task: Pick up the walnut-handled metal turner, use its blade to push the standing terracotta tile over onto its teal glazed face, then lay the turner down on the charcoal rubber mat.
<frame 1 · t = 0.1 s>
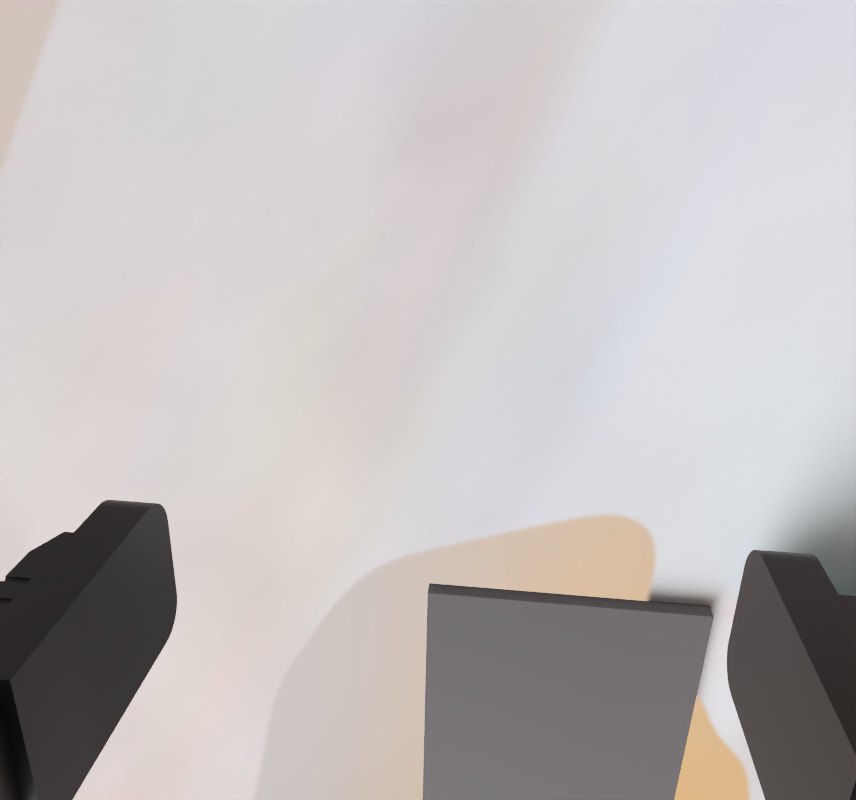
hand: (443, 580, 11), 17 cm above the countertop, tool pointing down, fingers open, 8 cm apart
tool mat: (545, 788, 37), on the countertop
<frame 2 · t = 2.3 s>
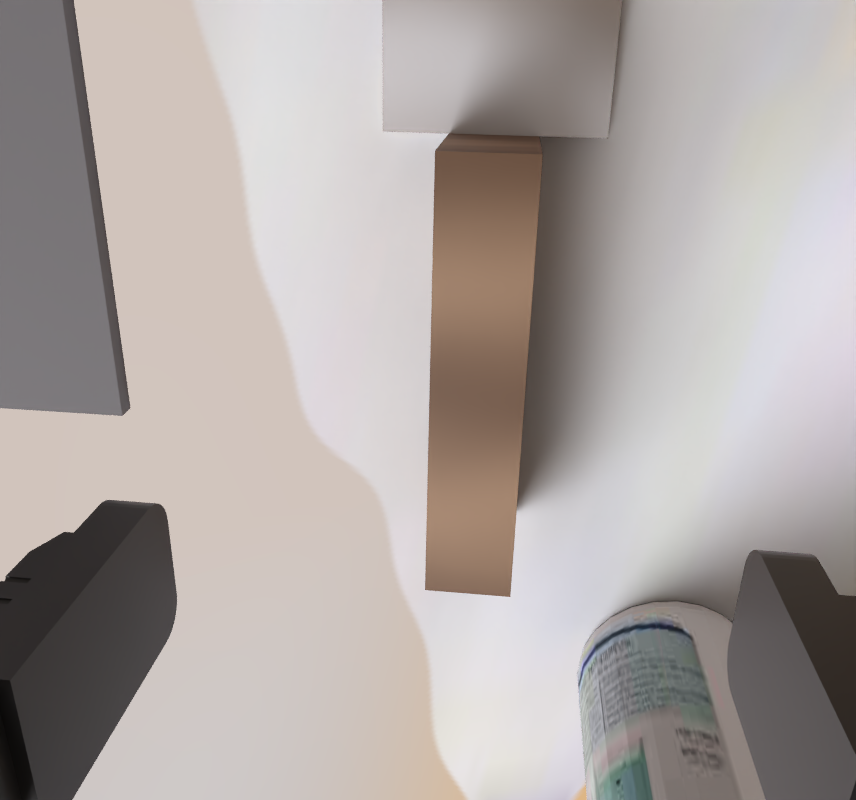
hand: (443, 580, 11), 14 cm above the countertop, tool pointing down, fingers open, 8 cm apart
spray can: (664, 667, 29), on the countertop
turner: (484, 339, 25), on the countertop
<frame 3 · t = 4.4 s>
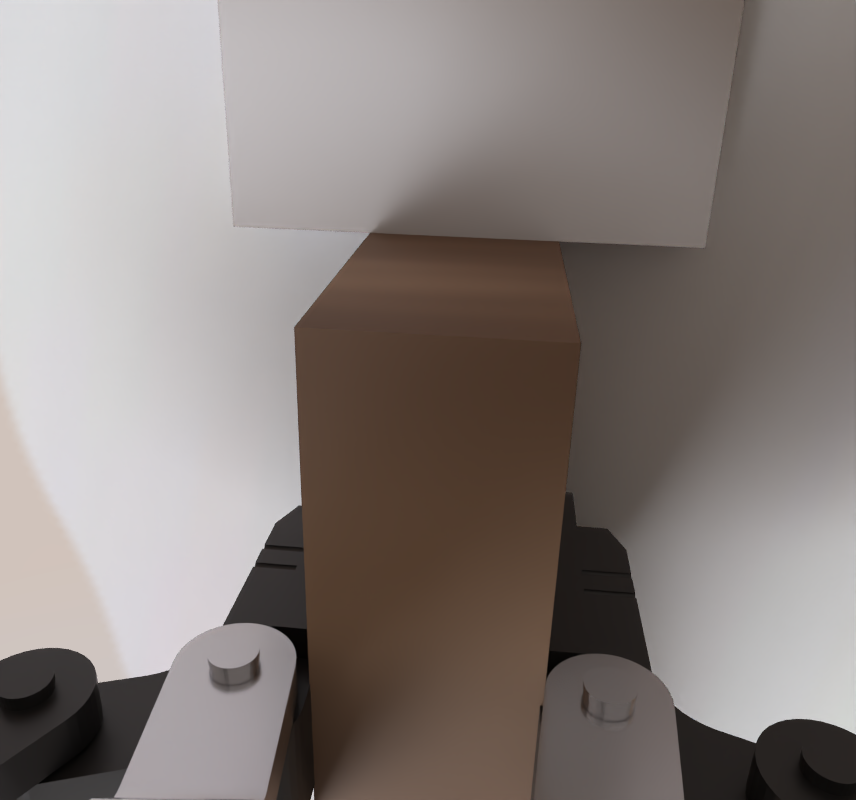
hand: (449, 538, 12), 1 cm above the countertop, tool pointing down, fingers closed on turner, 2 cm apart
turner: (450, 596, 13), on the countertop, touching gripper
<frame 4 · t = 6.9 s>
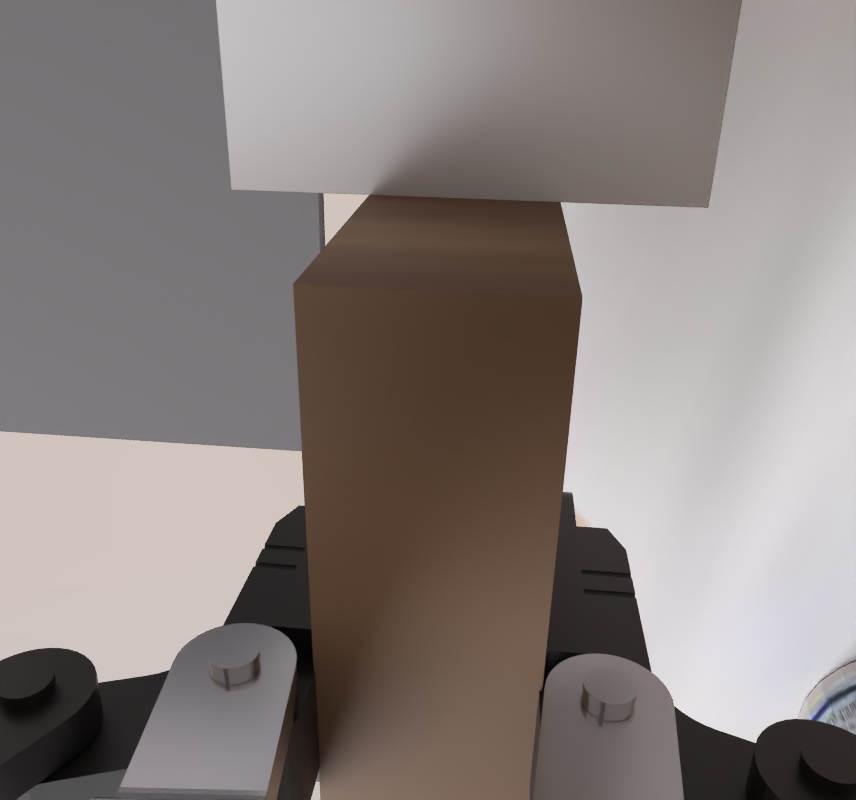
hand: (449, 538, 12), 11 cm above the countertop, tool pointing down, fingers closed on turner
turner: (452, 562, 13), point 11 cm above the countertop, touching gripper
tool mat: (107, 45, 21), on the countertop
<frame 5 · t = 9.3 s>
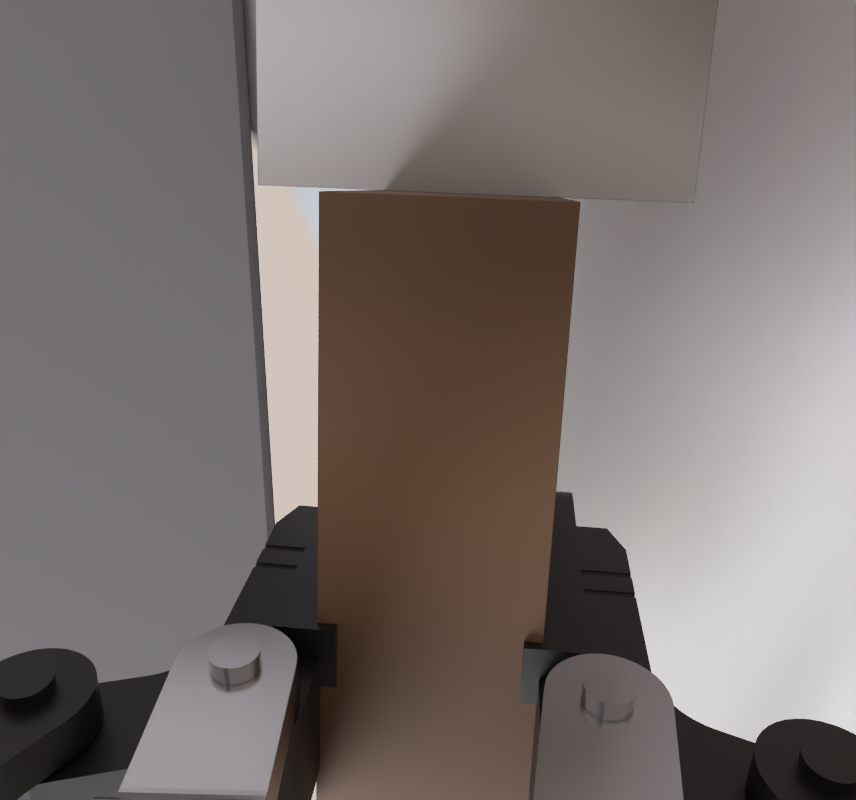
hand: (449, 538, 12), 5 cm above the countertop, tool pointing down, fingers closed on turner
turner: (453, 571, 13), point 5 cm above the countertop, tilted 8°, touching gripper
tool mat: (34, 432, 19), on the countertop
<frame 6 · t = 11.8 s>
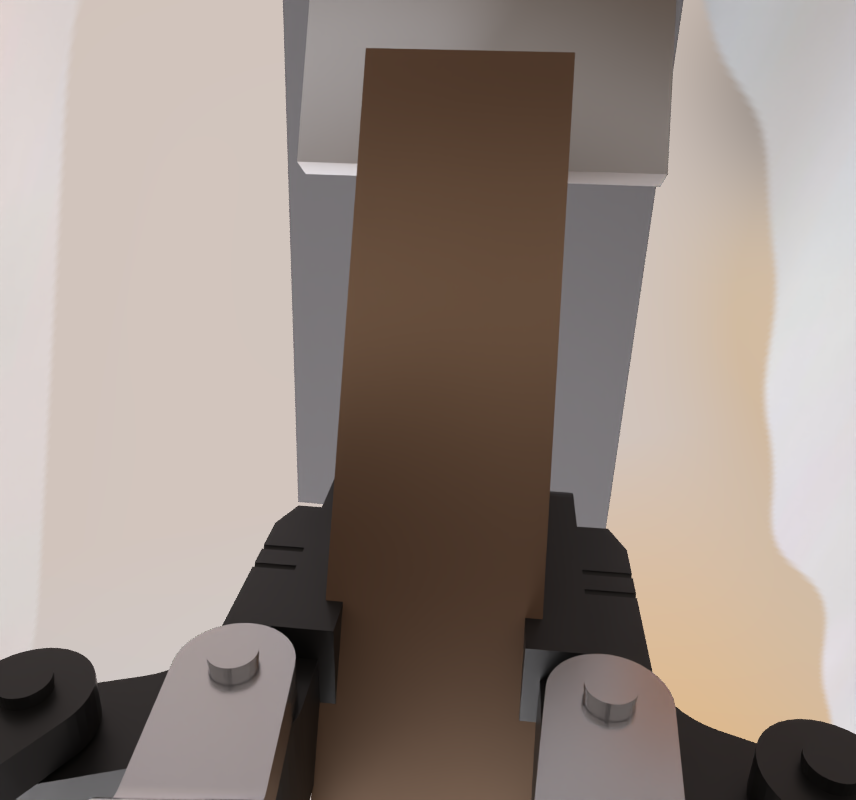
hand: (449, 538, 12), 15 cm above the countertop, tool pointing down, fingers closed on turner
turner: (456, 536, 13), point 14 cm above the countertop, tilted 27°, touching gripper
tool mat: (468, 199, 25), on the countertop
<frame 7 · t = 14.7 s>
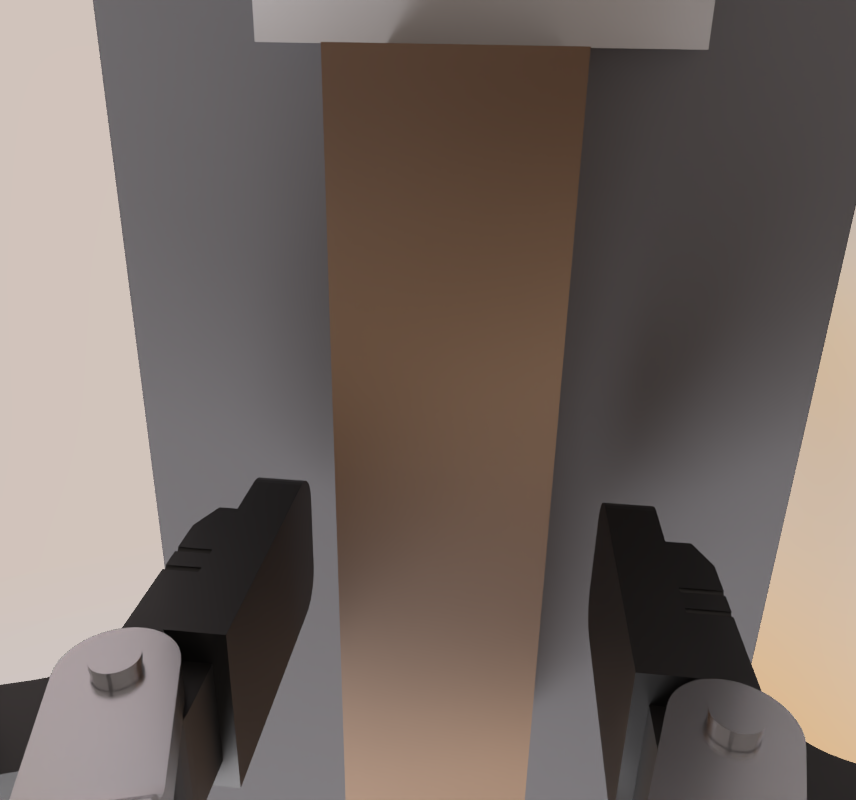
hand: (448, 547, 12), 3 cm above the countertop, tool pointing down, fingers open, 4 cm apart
turner: (463, 434, 14), point 1 cm above the countertop, touching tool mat
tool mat: (466, 327, 14), on the countertop
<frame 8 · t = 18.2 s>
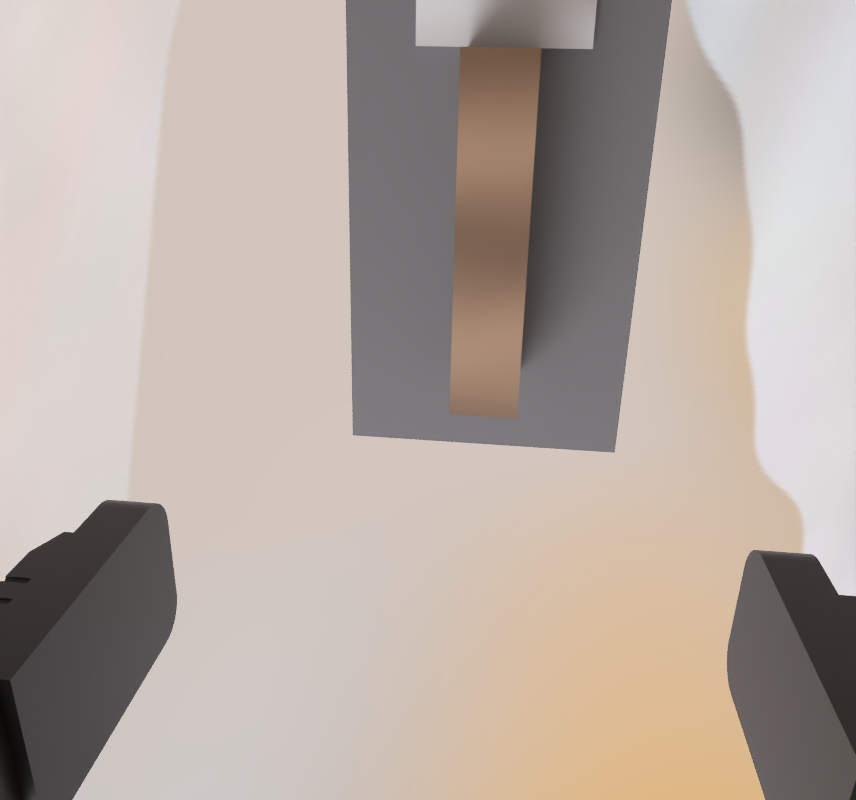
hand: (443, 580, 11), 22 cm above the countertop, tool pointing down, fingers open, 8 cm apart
turner: (495, 221, 31), point 1 cm above the countertop, touching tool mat
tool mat: (496, 172, 31), on the countertop
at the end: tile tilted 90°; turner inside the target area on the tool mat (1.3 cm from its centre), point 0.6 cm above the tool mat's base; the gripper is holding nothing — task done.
